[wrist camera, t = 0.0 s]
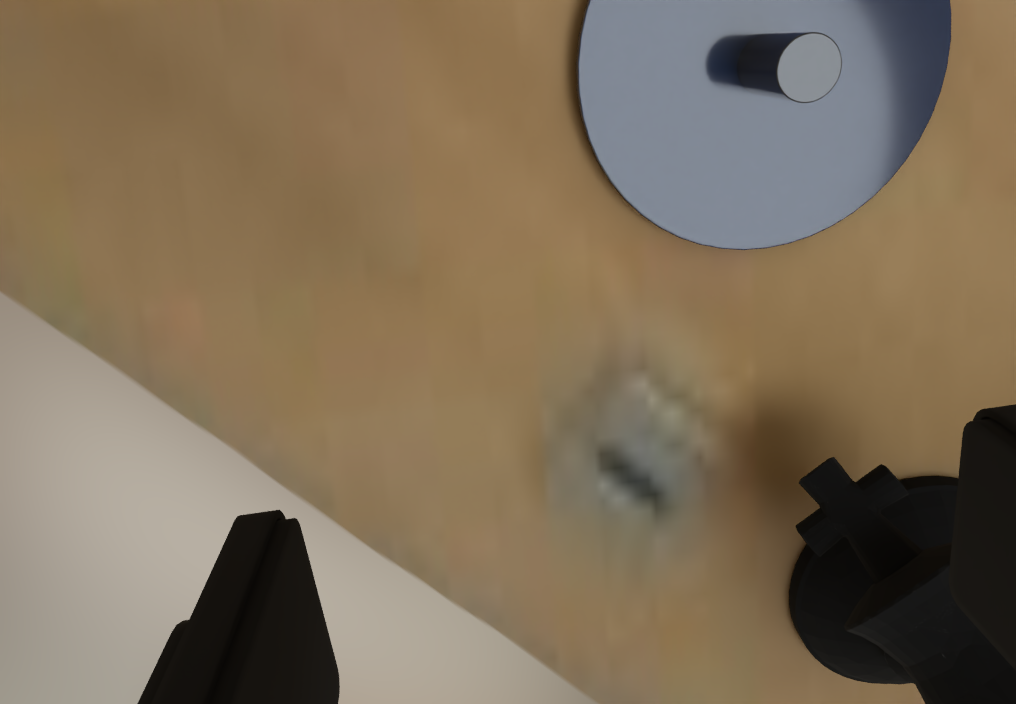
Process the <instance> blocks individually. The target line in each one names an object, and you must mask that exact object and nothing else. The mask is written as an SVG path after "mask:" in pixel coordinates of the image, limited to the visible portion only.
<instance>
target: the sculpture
mask: <svg viewBox="0 0 1016 704" xmlns="http://www.w3.org/2000/svg"><path fill="white" fill-rule="evenodd" d="M799 484H800V485H801V486H802V487H803V488H804V489H805V490H806V491H807V492H808V494H809V495H810V496H811V497H812V498H813V499H814V500H815V501H816V502H817V503H818V504H819V506H820V508H819V509H818V510H817V511H815V512H814V513H812V514H811V515H810V516H808V517H807V518H806V519H804V520H803V521H801V522H800V523H799V524H797V525H796V528H797V531H798V533H799V534H800V535H801V536H802V538H803V539H804V540H805V541H806V543H807V545H806V547H805V548H804V550H803V552H802V553H801V555H800V557H799V559H798V561H797V563H796V565H795V568H794V572H793V575H792V579H791V585H790V590H789V605H790V612H791V617H792V620H793V623H794V626H795V628H796V630H797V632H798V633H799V635H800V637H801V639H802V640H803V642H804V644H805V646H806V647H807V649H808V650H809V651H810V652H811V654H812V655H813V656H814V657H815V658H816V659H817V660H818V661H819V662H820V663H821V664H823V665H824V666H825V667H827V668H828V669H830V670H832V671H833V672H835V673H837V674H840V675H842V676H844V677H847V678H850V679H853V680H857V681H862V682H868V683H881V684H906V683H914V684H916V686H917V688H918V690H919V692H920V694H921V696H922V698H923V700H924V702H925V704H1016V670H1015V669H1014V668H1013V667H1012V666H1011V665H1010V664H1009V663H1008V662H1007V660H1006V659H1005V658H1004V657H1003V656H1002V655H1001V654H1000V653H999V651H998V650H997V649H996V648H995V647H994V646H993V645H992V644H991V643H990V641H989V640H988V639H987V638H986V637H985V636H984V635H983V634H982V633H981V631H980V630H979V629H978V628H977V627H976V626H975V625H974V624H973V622H972V621H971V620H970V619H969V618H968V617H967V616H966V615H965V614H964V612H963V611H962V610H961V609H960V608H959V607H958V605H957V604H956V603H955V601H954V599H953V597H952V594H951V591H950V587H949V568H950V558H951V548H952V538H953V528H954V518H955V508H956V498H957V488H958V479H957V478H952V477H941V476H928V477H917V478H911V479H904V480H901V481H899V480H898V479H897V478H896V477H895V476H894V475H893V474H892V472H891V471H890V470H889V469H888V468H887V467H886V466H884V465H882V464H881V465H879V466H878V467H876V468H875V469H874V470H872V471H871V472H869V473H868V474H867V475H865V476H864V477H862V478H861V479H860V480H858V481H857V482H854V481H852V479H851V478H850V477H849V475H848V474H847V473H846V472H845V470H844V469H843V468H842V466H841V465H840V464H839V463H838V461H837V460H836V459H835V458H834V457H832V458H829V459H827V460H826V461H825V462H823V463H822V464H821V465H819V466H818V467H817V468H815V469H814V470H812V471H811V472H810V473H808V474H807V475H806V476H804V477H803V478H802V479H801V480H800V482H799Z"/></svg>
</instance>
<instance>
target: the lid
mask: <svg viewBox="0 0 1016 704" xmlns="http://www.w3.org/2000/svg"><path fill="white" fill-rule="evenodd" d="M950 42H951V7H950V0H588V2H587V5H586V7H585V10H584V15H583V19H582V24H581V29H580V33H579V38H578V49H577V59H576V82H577V95H578V102H579V108H580V115H581V118H582V122H583V125H584V129H585V132H586V136H587V139H588V141H589V144H590V146H591V148H592V151H593V153H594V155H595V157H596V160H597V162H598V163H599V165H600V167H601V168H602V170H603V172H604V173H605V175H606V176H607V178H608V180H609V181H610V182H611V184H612V185H613V186H614V187H615V189H616V190H617V191H618V192H619V193H620V195H621V196H622V197H623V198H624V199H625V200H626V201H627V202H628V203H629V204H630V205H631V206H632V207H633V208H634V209H636V210H637V211H638V212H639V213H640V214H641V215H642V216H644V217H645V218H647V219H648V220H649V221H651V222H652V223H654V224H655V225H657V226H658V227H659V228H661V229H663V230H665V231H667V232H669V233H671V234H673V235H675V236H677V237H679V238H682V239H685V240H688V241H691V242H694V243H697V244H700V245H705V246H710V247H716V248H721V249H737V250H748V249H762V248H769V247H774V246H779V245H784V244H789V243H792V242H795V241H797V240H800V239H803V238H806V237H809V236H812V235H814V234H816V233H818V232H820V231H822V230H824V229H827V228H829V227H831V226H833V225H834V224H836V223H837V222H839V221H841V220H842V219H844V218H846V217H847V216H849V215H850V214H852V213H853V212H855V211H856V210H857V209H858V208H860V207H861V206H862V205H863V204H865V203H866V202H867V201H868V200H870V199H871V198H872V197H873V196H874V195H875V194H876V193H877V192H878V191H879V190H880V189H881V188H882V187H883V186H884V185H885V184H886V183H887V182H888V181H889V180H890V179H891V178H892V177H893V176H894V174H895V173H896V172H897V171H898V169H899V168H900V167H901V166H902V165H903V163H904V162H905V161H906V159H907V158H908V156H909V155H910V153H911V152H912V150H913V149H914V147H915V146H916V144H917V142H918V141H919V139H920V137H921V136H922V134H923V132H924V130H925V128H926V126H927V124H928V122H929V120H930V118H931V116H932V113H933V110H934V108H935V105H936V103H937V100H938V97H939V95H940V92H941V88H942V84H943V80H944V76H945V73H946V69H947V64H948V56H949V49H950Z"/></svg>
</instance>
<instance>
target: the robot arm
mask: <svg viewBox="0 0 1016 704" xmlns="http://www.w3.org/2000/svg"><path fill="white" fill-rule="evenodd" d="M949 587H950V591H951V594H952V597H953V599H954V601H955V603H956V604H957V605H958V607H959V608H960V609H961V610H962V611H963V612H964V614H965V615H966V616H967V617H968V618H969V619H970V620H971V621H972V622H973V624H974V625H975V626H976V627H977V628H978V629H979V630H980V631H981V633H982V634H983V635H984V636H985V637H986V638H987V639H988V640H989V641H990V643H991V644H992V645H993V646H994V647H995V648H996V649H997V650H998V651H999V653H1000V654H1001V655H1002V656H1003V657H1004V658H1005V659H1006V660H1007V662H1008V663H1009V664H1010V665H1011V666H1012V667H1013V668H1014V669H1015V670H1016V405H1009V406H1002V407H995V408H988V409H982V410H980V411H979V412H977V414H976V415H975V417H974V419H973V421H970V422H969V423H967V424H966V426H965V427H964V431H963V437H962V447H961V457H960V468H959V478H958V488H957V498H956V508H955V518H954V528H953V538H952V548H951V558H950V568H949ZM339 687H340V686H339V673H338V668H337V664H336V660H335V656H334V652H333V649H332V645H331V641H330V637H329V633H328V630H327V626H326V622H325V618H324V614H323V611H322V607H321V603H320V599H319V596H318V592H317V588H316V584H315V580H314V577H313V572H312V569H311V565H310V561H309V557H308V554H307V550H306V546H305V542H304V538H303V534H302V531H301V527H300V524H299V522H298V520H297V519H295V518H293V519H285V516H284V514H283V513H282V512H281V511H280V510H276V511H268V512H261V513H254V514H247V515H240V516H238V517H237V518H236V519H235V521H234V523H233V525H232V528H231V530H230V532H229V534H228V536H227V539H226V541H225V543H224V545H223V547H222V550H221V552H220V554H219V556H218V558H217V560H216V563H215V565H214V567H213V569H212V571H211V574H210V576H209V578H208V580H207V582H206V585H205V587H204V589H203V591H202V593H201V596H200V598H199V600H198V602H197V604H196V607H195V609H194V611H193V613H192V615H191V617H190V620H185V621H182V622H180V623H179V624H177V625H176V627H175V628H174V630H173V631H172V633H171V635H170V637H169V639H168V641H167V643H166V645H165V648H164V649H163V652H162V654H161V656H160V658H159V660H158V662H157V664H156V666H155V668H154V671H153V673H152V675H151V677H150V679H149V681H148V683H147V685H146V687H145V690H144V691H143V694H142V696H141V698H140V700H139V702H138V704H338V699H339Z"/></svg>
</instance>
